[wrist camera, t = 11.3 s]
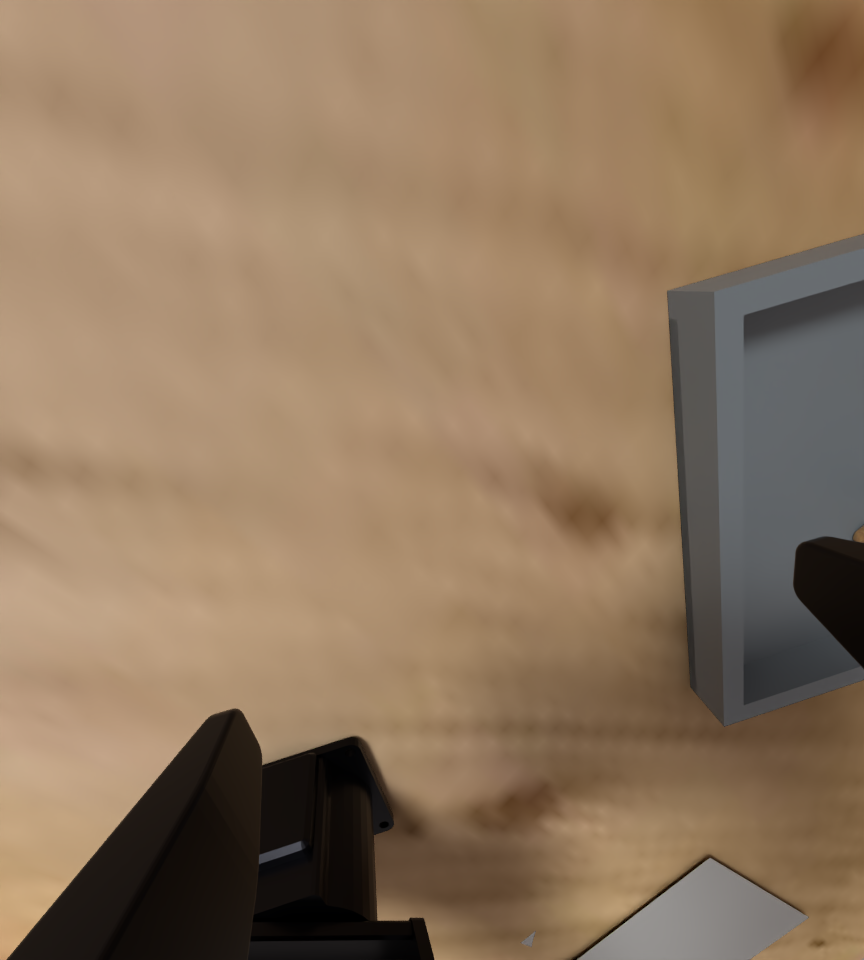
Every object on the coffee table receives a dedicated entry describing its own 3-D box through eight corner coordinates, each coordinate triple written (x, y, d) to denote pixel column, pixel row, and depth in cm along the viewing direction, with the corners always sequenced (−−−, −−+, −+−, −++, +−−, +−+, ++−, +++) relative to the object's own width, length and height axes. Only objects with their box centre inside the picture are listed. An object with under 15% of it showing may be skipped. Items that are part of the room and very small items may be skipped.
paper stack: (424, 954, 31) (426, 967, 31) (727, 701, 27) (736, 711, 26) (636, 1024, 40) (640, 1036, 39) (893, 840, 35) (903, 850, 35)
